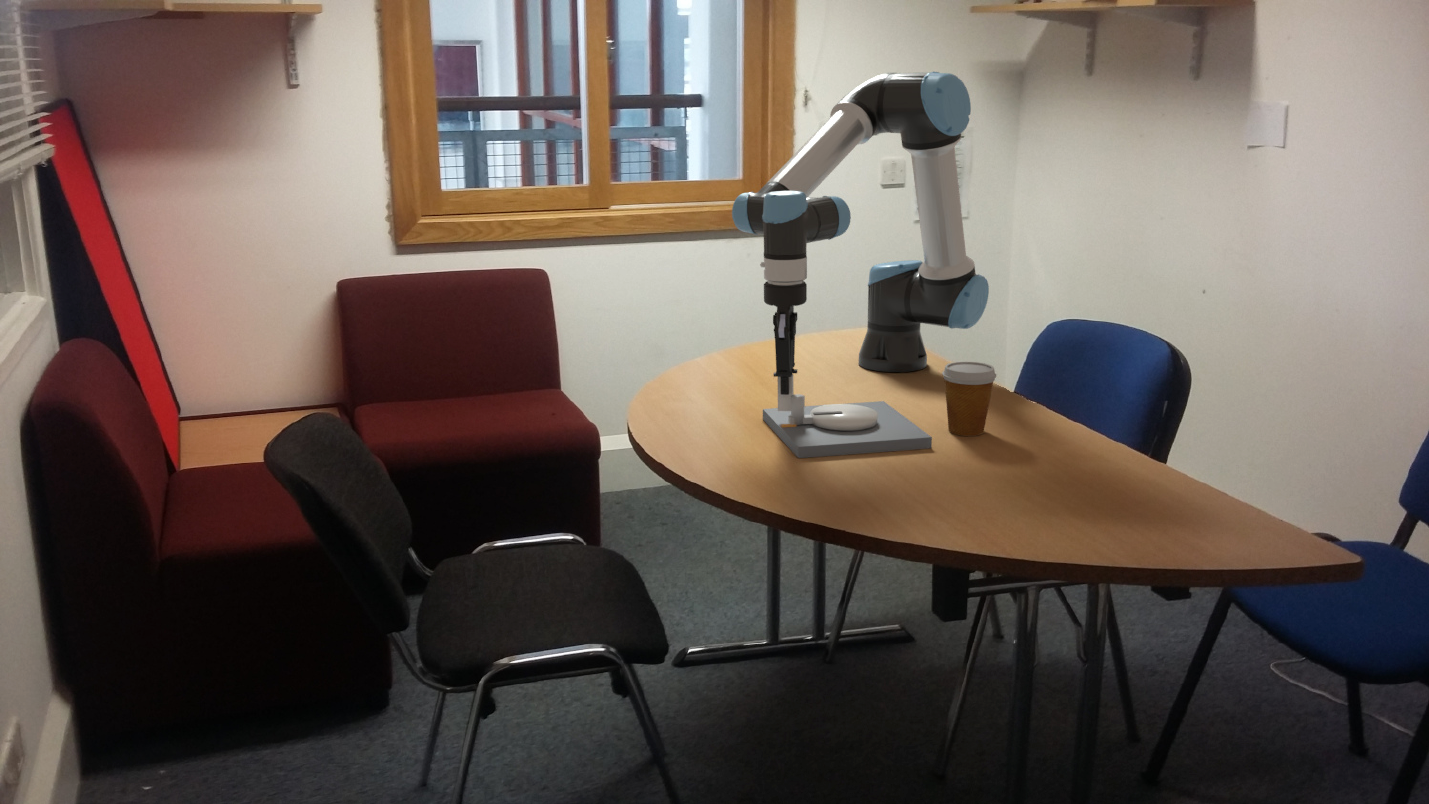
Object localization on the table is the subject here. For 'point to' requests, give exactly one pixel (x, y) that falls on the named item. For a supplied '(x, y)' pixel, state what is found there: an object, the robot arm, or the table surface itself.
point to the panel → (849, 434)
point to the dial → (832, 415)
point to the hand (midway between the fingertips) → (785, 409)
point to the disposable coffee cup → (968, 396)
